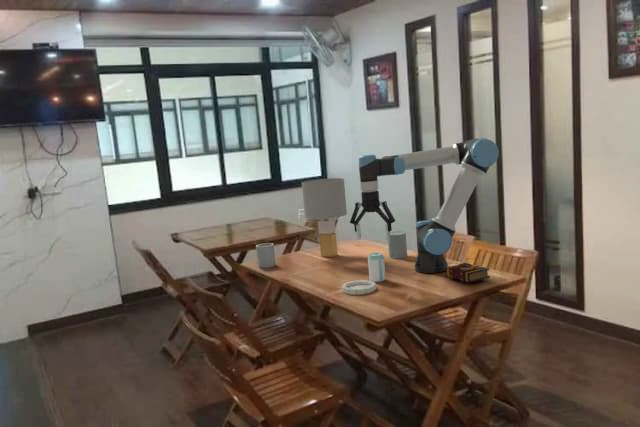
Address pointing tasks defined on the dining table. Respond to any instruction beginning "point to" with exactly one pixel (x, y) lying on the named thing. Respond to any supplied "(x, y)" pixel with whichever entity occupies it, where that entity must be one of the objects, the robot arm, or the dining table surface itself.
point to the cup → (265, 255)
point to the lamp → (325, 209)
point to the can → (376, 267)
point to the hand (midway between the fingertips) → (373, 239)
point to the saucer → (358, 287)
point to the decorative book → (467, 272)
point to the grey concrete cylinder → (397, 245)
